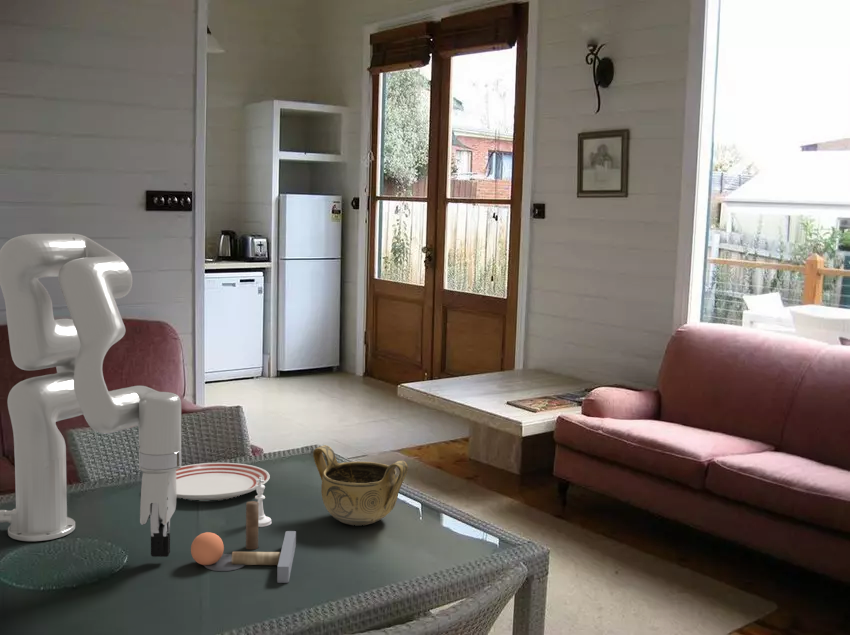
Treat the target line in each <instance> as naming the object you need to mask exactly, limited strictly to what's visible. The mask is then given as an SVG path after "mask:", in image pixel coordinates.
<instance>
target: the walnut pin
mask: <svg viewBox="0 0 850 635" xmlns="http://www.w3.org/2000/svg"><path fill="white" fill-rule="evenodd" d="M258 515H259V503H258V501H254V500H252V501H246V504H245V550H246V549H247V550H249V551H251V550H253V551H254V550H257V549H258V548H259V527H258Z"/></svg>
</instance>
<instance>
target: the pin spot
mask: <svg viewBox="0 0 850 635" xmlns="http://www.w3.org/2000/svg"><path fill="white" fill-rule="evenodd" d="M245 566H246V565H245V564H232V553H223V554H222V556H221V558H220V559H219V560H218V561H217V562H216V563H214V564H212V565H203V567H204V568H206V569H208V570H210V571H213V572H230V571H231V572H232V571H237V570H239V569H242V568H244V567H245Z"/></svg>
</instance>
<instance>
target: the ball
mask: <svg viewBox="0 0 850 635" xmlns="http://www.w3.org/2000/svg"><path fill="white" fill-rule="evenodd" d="M224 546H225V545H224V542H223V539H222V538H221V537H220V536H219V535H217V533H214V532H209V531H206V532H203V533H200V534H199V535H197V536H195V537H194V539H193V541H192V542H191V545H190V554H191V556H192V559H193V560H194V561H195V562H196V563H197V564H199V565H202V566H204V565H212V564H214V563H216V562H217V561H218V560H219V559H220V558H221V556H222V554H224V550H225V547H224Z"/></svg>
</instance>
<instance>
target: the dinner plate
mask: <svg viewBox="0 0 850 635" xmlns="http://www.w3.org/2000/svg"><path fill="white" fill-rule="evenodd" d="M270 476H271V475H270V473H269V472H268V471H267V470H266V469H264V468H261V467H258V466H256V465H251V464H245V463H236V462H235V463H234V462H204V463H203V462H202V463H196V464H195V463H194V464H186V465H181V468H180V469H177V470H176V483H177V499H181V498H183V499H182V500H186V499H190V500H189V501H192V500H218V501H224V500H223V499H226V500H230V499H229V498H231V499H234V498H233V497H235V498H238V497H241V496H243V495H245V494H248V493H251V492H254V491H256V488H255V486H256V485H259V482H256V480H259V477H262V480H264V483H262V485H264V486H265V484H266V483H268V481H269V480H270V478H271V477H270ZM240 495H241V496H240ZM237 496H238V497H237Z"/></svg>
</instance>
